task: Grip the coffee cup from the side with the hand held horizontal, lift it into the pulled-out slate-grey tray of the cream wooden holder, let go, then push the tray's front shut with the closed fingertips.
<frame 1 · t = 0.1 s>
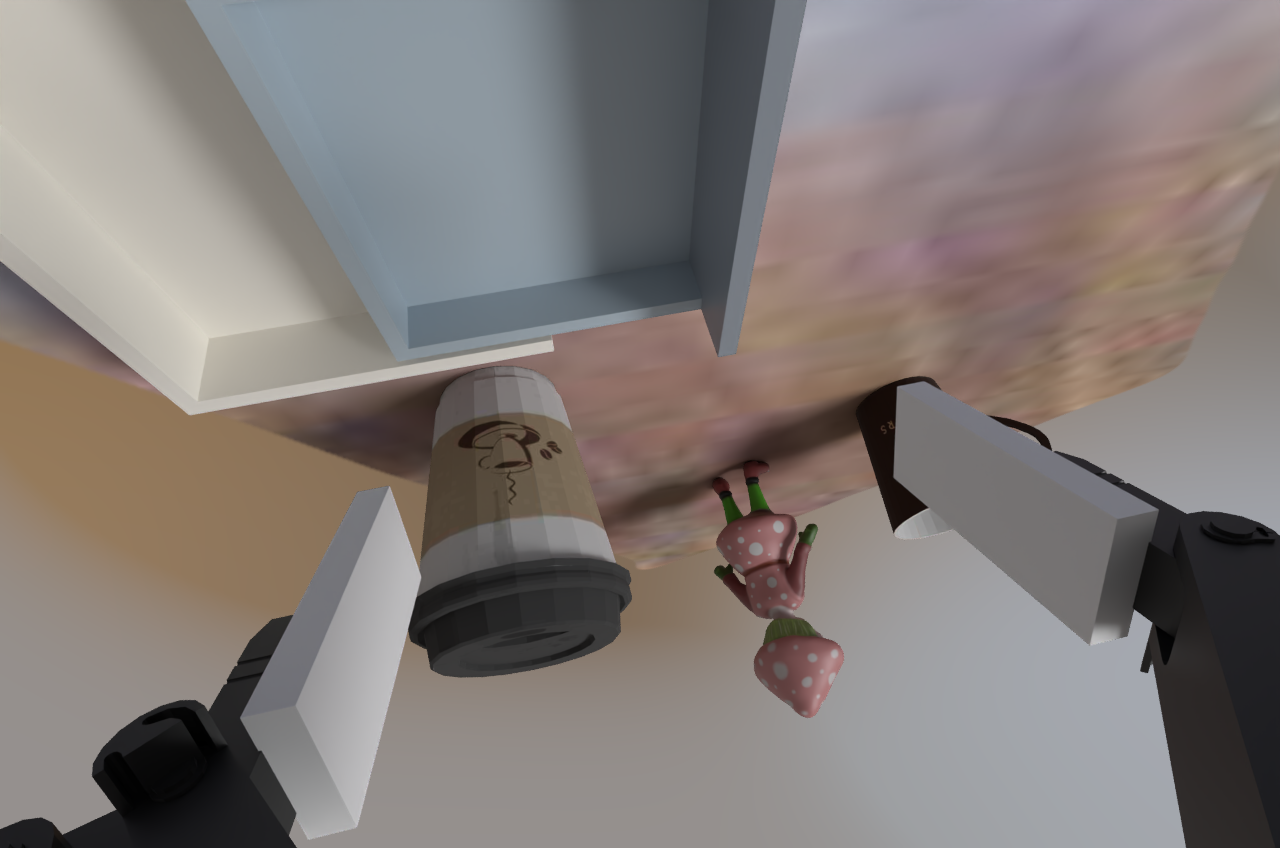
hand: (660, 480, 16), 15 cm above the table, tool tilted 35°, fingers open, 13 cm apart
tray: (535, 192, 21), point 4 cm above the table, slide at 8.0 cm
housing: (288, 158, 22), on the table
cartoon character: (733, 469, 54), on the table
coffee cup: (499, 398, 38), on the table
coffee mug: (911, 396, 49), on the table
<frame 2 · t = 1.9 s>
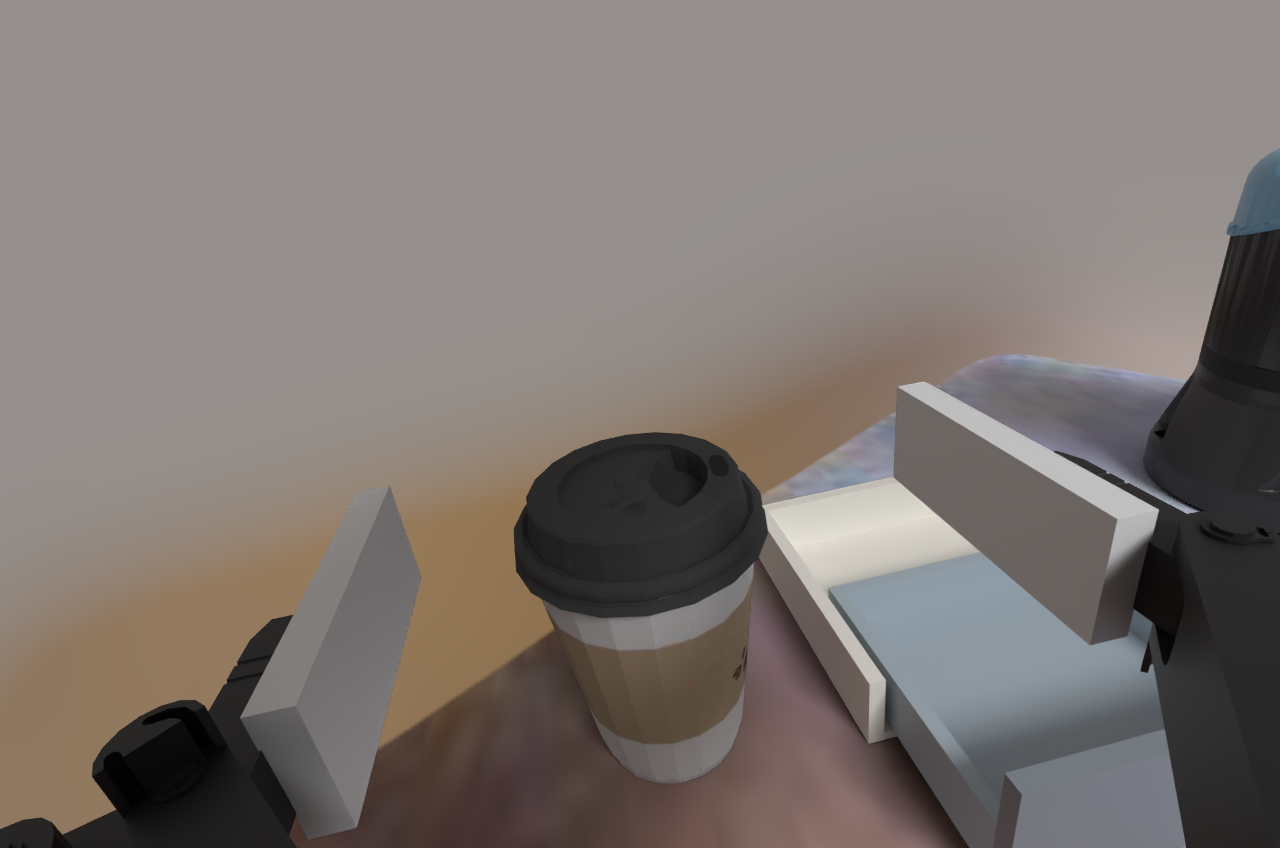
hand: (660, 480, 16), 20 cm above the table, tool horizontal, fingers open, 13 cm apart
tray: (1044, 652, 29), point 4 cm above the table, slide at 8.0 cm
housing: (931, 599, 38), on the table
coffee cup: (672, 724, 33), on the table
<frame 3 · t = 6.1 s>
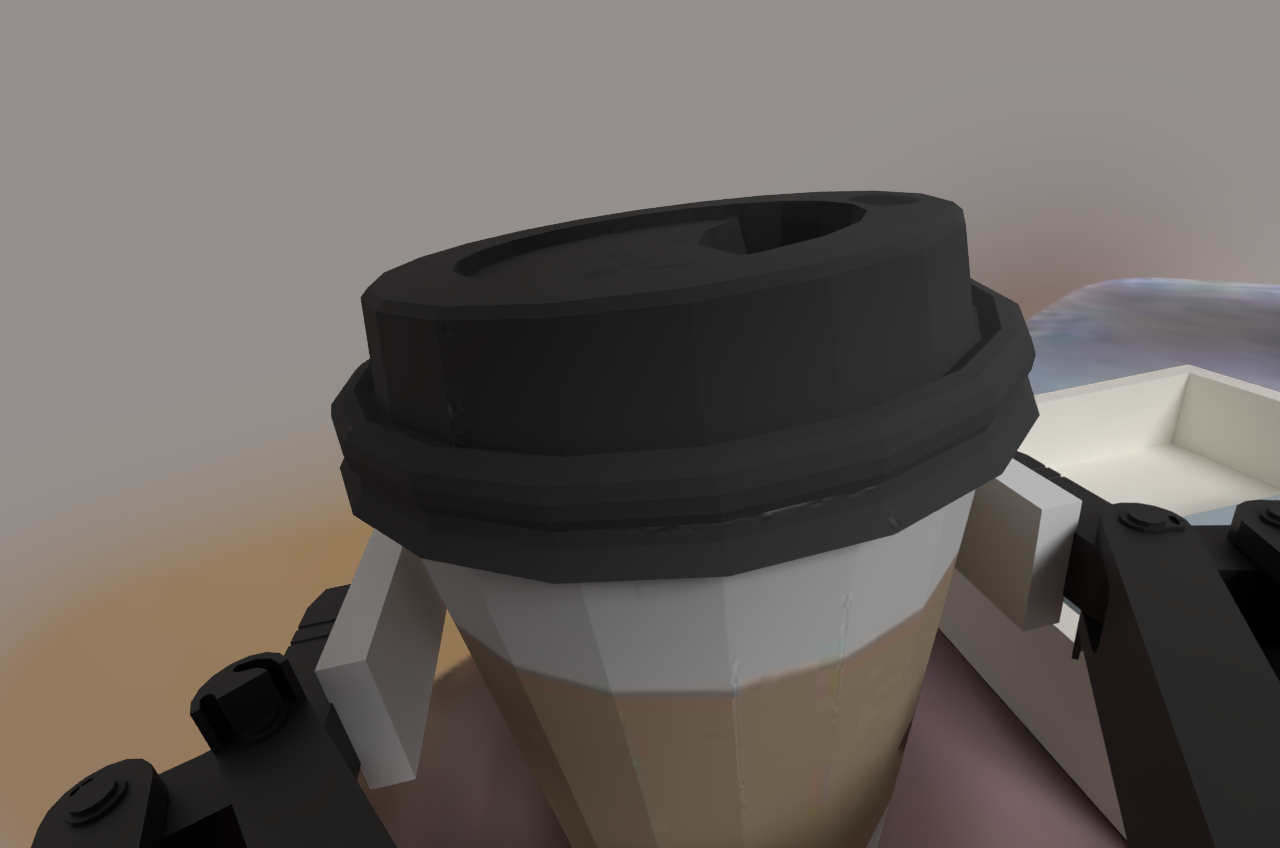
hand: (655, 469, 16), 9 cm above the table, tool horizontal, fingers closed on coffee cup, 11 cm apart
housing: (1169, 582, 22), on the table
coffee cup: (723, 821, 16), on the table, touching gripper
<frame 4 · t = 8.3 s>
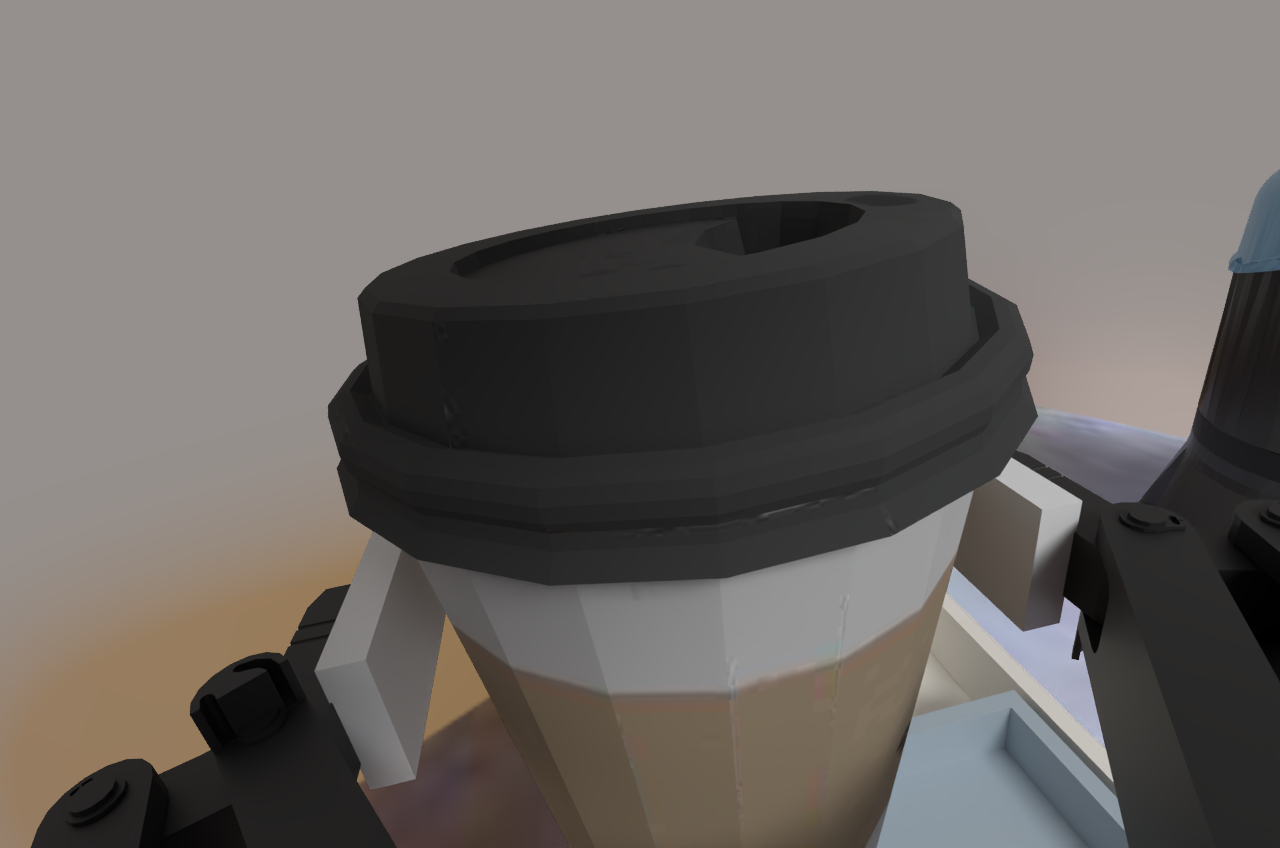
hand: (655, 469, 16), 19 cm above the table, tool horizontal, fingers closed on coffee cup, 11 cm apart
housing: (834, 772, 28), on the table
coffee cup: (722, 822, 16), point 10 cm above the table, touching gripper
when the fingers open (11 cm above the table, at t = 10.8 s): coffee cup drops 1 cm, resting on tray.
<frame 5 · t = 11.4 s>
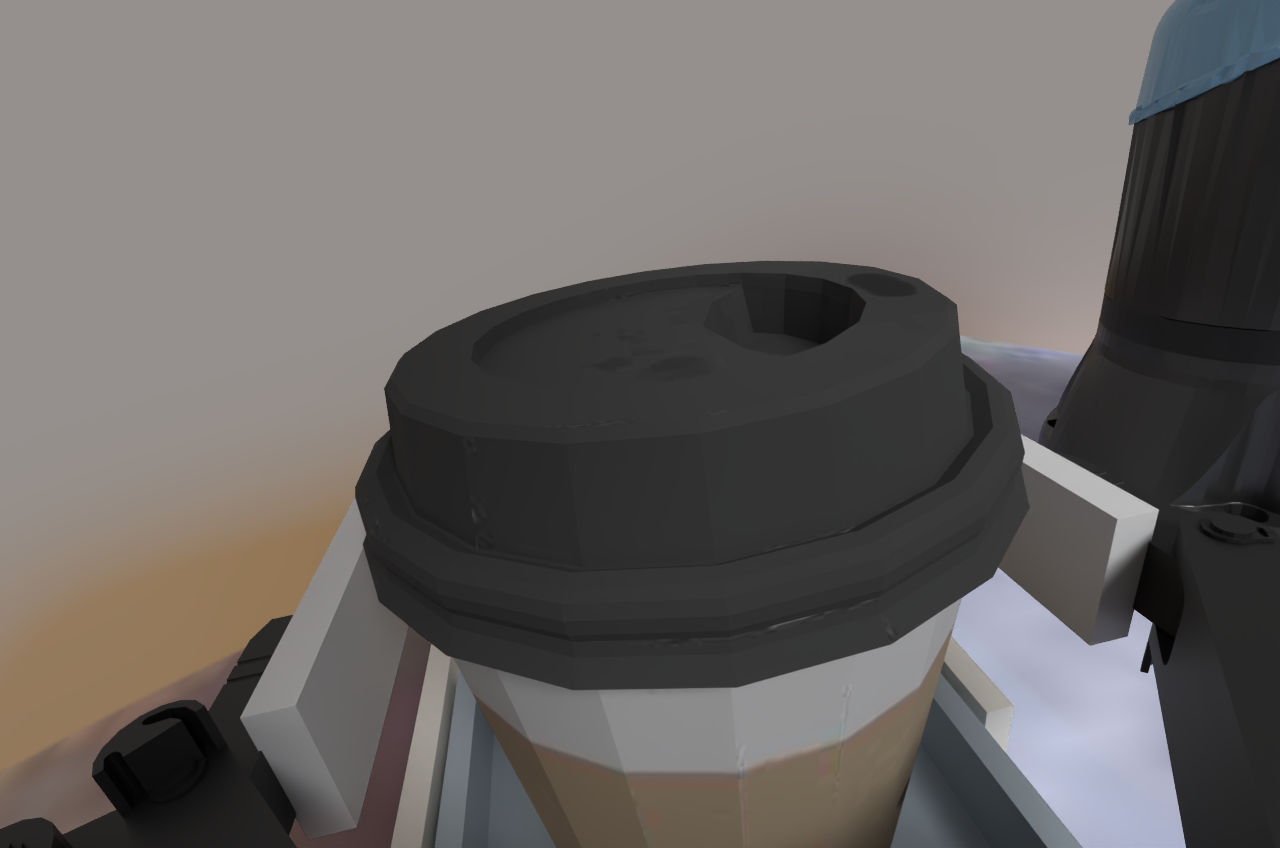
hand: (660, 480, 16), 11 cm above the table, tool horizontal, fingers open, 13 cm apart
tray: (723, 806, 16), point 4 cm above the table, slide at 8.0 cm, touching coffee cup
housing: (669, 667, 25), on the table
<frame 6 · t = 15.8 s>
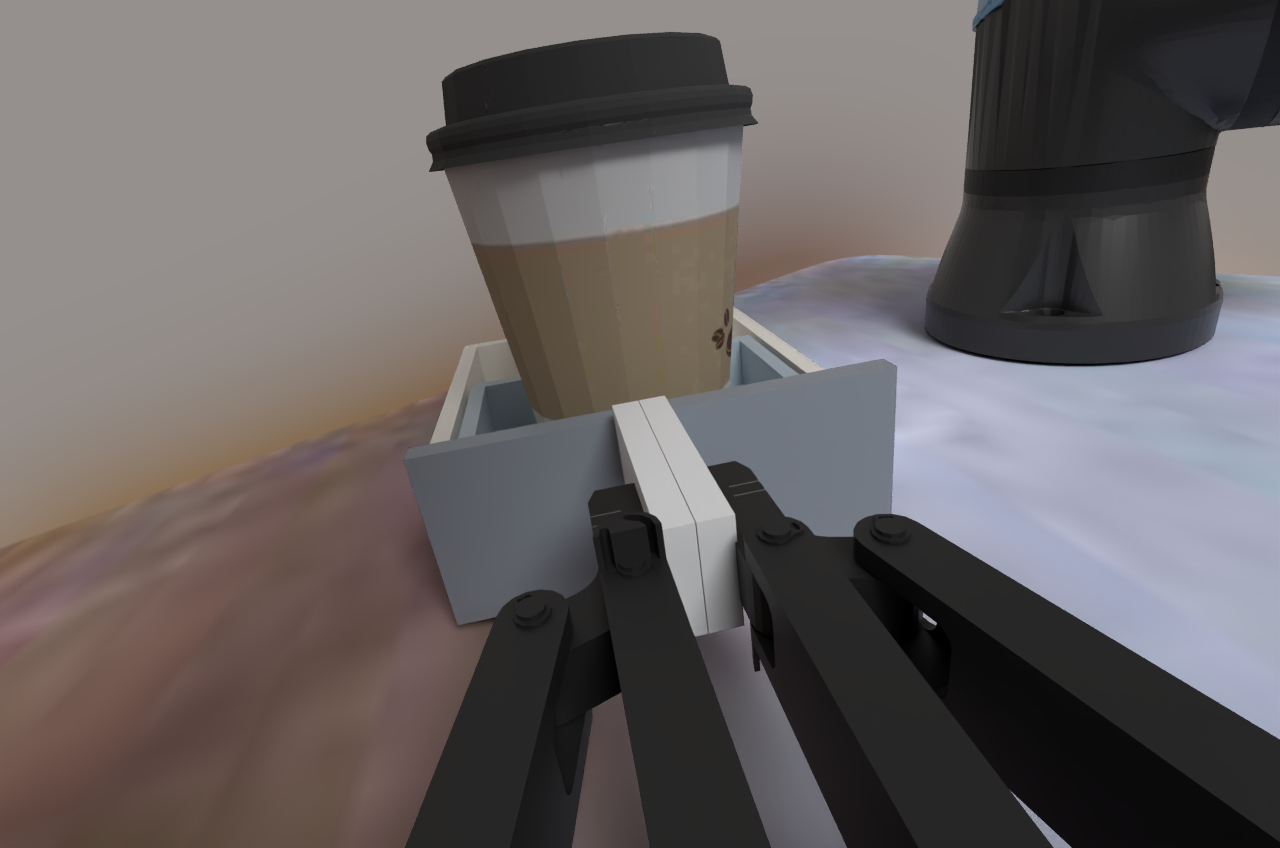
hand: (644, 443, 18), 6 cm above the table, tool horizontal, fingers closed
tray: (635, 413, 26), point 4 cm above the table, slide at 6.8 cm, touching coffee cup, gripper
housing: (624, 427, 34), on the table
coffee cup: (641, 463, 27), point 1 cm above the table, touching tray
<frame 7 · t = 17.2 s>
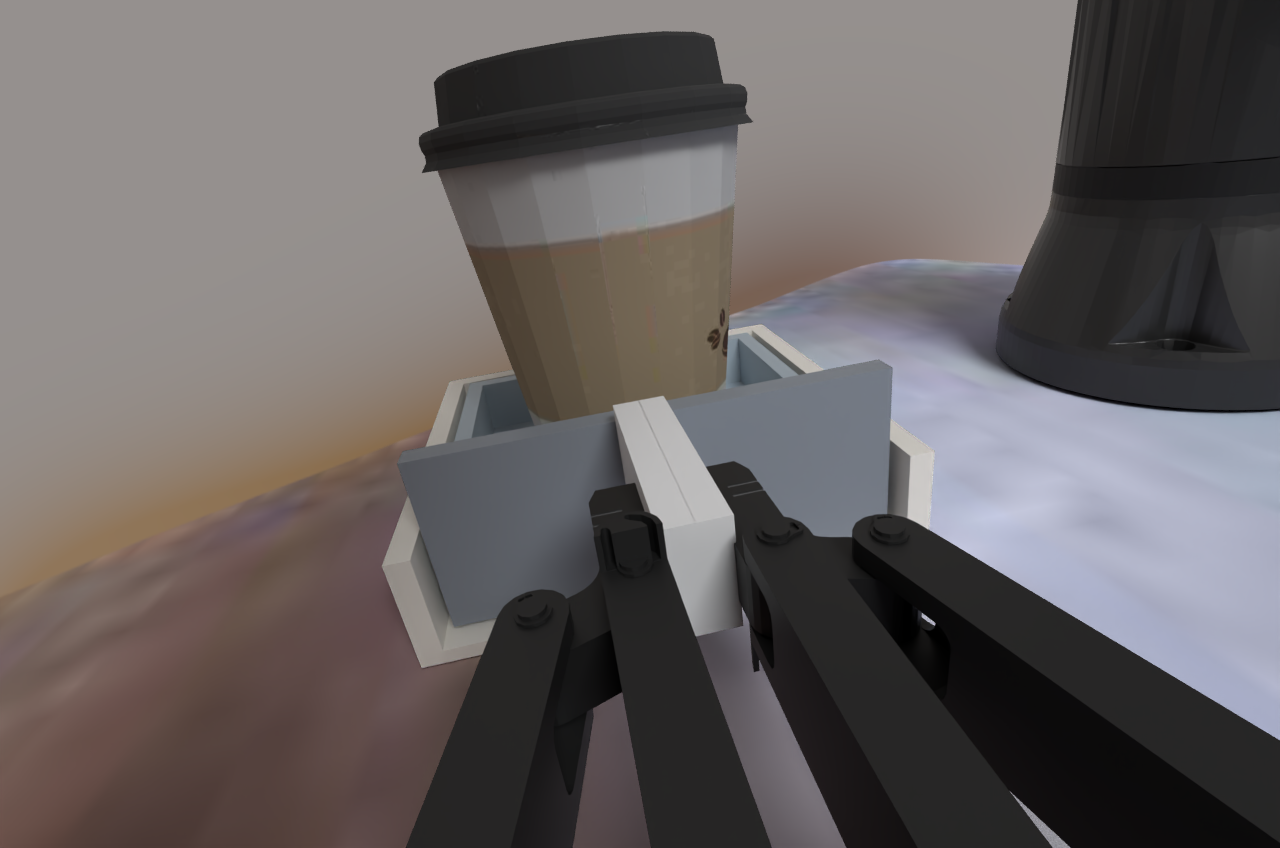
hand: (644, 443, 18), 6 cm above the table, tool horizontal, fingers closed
tray: (632, 413, 26), point 4 cm above the table, slide at -0.3 cm, touching coffee cup, gripper
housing: (643, 489, 27), on the table
coffee cup: (638, 462, 27), point 1 cm above the table, touching tray
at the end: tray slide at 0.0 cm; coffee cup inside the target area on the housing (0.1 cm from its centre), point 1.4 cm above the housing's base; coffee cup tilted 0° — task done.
